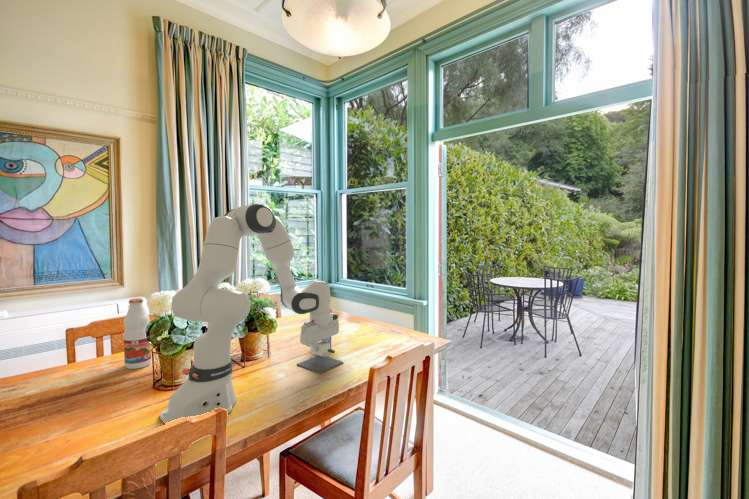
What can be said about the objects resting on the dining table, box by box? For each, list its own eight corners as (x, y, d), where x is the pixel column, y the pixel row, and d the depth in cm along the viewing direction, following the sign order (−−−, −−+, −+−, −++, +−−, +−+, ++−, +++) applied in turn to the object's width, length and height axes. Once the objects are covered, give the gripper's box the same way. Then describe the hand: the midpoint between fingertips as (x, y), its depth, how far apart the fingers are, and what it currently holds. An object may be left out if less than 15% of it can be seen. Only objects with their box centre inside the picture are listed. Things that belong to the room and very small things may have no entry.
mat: (320, 373, 145) (320, 372, 145) (296, 365, 153) (296, 363, 153) (343, 363, 156) (343, 361, 156) (320, 355, 165) (320, 354, 165)
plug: (336, 356, 152) (337, 344, 151) (330, 359, 149) (330, 347, 148) (311, 348, 161) (311, 337, 160) (304, 350, 158) (304, 339, 157)
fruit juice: (154, 359, 157) (152, 296, 155) (147, 368, 148) (145, 301, 146) (129, 361, 154) (126, 297, 152) (121, 370, 145) (118, 302, 143)
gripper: (307, 324, 143) (307, 358, 144) (341, 314, 160) (341, 344, 161) (296, 322, 147) (296, 354, 148) (330, 311, 163) (330, 341, 165)
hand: (320, 349), depth 155 cm, fingers closed on plug, 4 cm apart
